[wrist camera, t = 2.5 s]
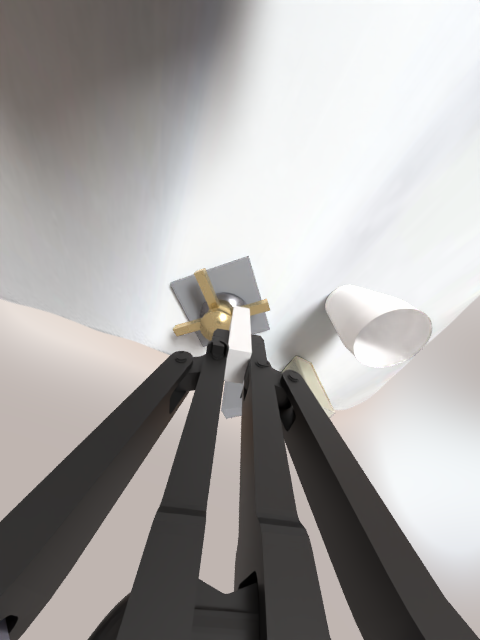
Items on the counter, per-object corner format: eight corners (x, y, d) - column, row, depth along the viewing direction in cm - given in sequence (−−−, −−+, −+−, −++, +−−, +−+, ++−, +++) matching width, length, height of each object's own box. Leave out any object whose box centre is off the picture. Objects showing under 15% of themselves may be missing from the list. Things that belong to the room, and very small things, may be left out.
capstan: (161, 280, 30) (140, 294, 24) (252, 248, 27) (254, 255, 21) (202, 356, 38) (194, 381, 32) (277, 337, 35) (284, 361, 29)
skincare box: (295, 379, 42) (312, 433, 31) (279, 372, 41) (290, 425, 30) (312, 361, 39) (337, 414, 28) (295, 353, 38) (315, 404, 27)
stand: (172, 281, 31) (124, 319, 19) (248, 255, 29) (250, 280, 17) (215, 366, 40) (202, 429, 28) (276, 352, 38) (291, 413, 26)
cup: (326, 331, 35) (361, 377, 25) (310, 293, 32) (343, 328, 21) (375, 310, 33) (436, 352, 22) (364, 267, 29) (430, 292, 19)
